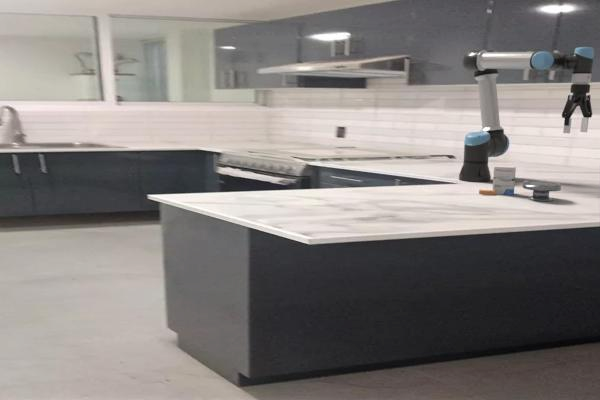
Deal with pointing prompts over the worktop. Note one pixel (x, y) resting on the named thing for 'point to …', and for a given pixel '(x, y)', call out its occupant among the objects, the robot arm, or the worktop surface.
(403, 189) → the worktop surface
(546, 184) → the rosette stub
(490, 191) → the wedge pin
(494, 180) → the ink box
